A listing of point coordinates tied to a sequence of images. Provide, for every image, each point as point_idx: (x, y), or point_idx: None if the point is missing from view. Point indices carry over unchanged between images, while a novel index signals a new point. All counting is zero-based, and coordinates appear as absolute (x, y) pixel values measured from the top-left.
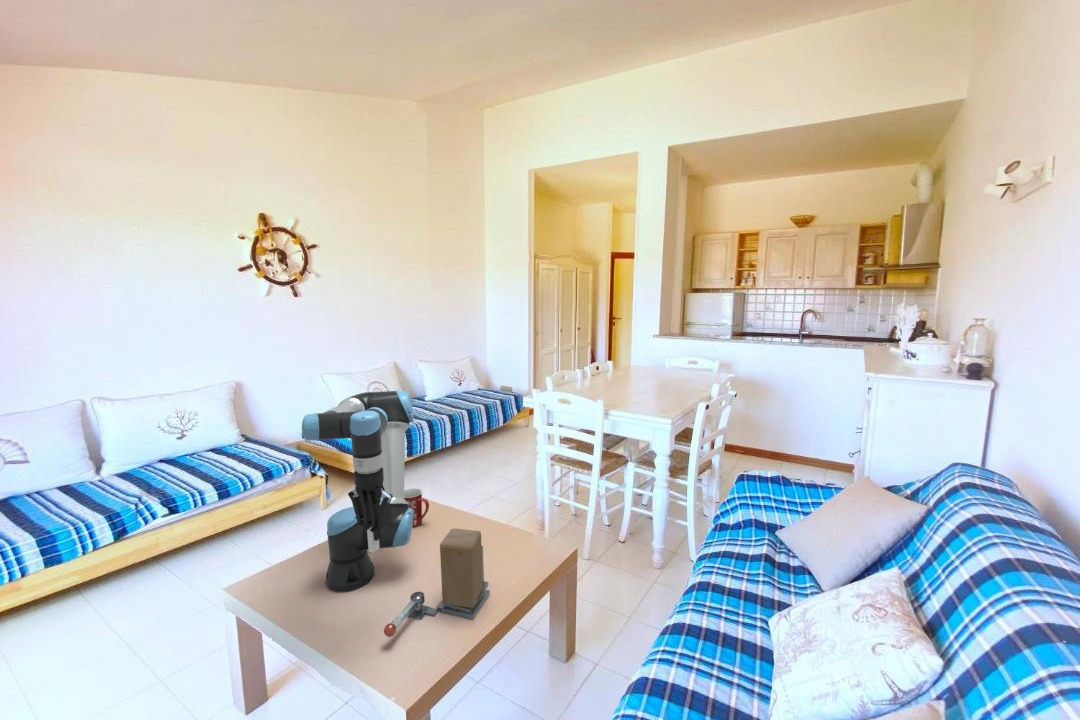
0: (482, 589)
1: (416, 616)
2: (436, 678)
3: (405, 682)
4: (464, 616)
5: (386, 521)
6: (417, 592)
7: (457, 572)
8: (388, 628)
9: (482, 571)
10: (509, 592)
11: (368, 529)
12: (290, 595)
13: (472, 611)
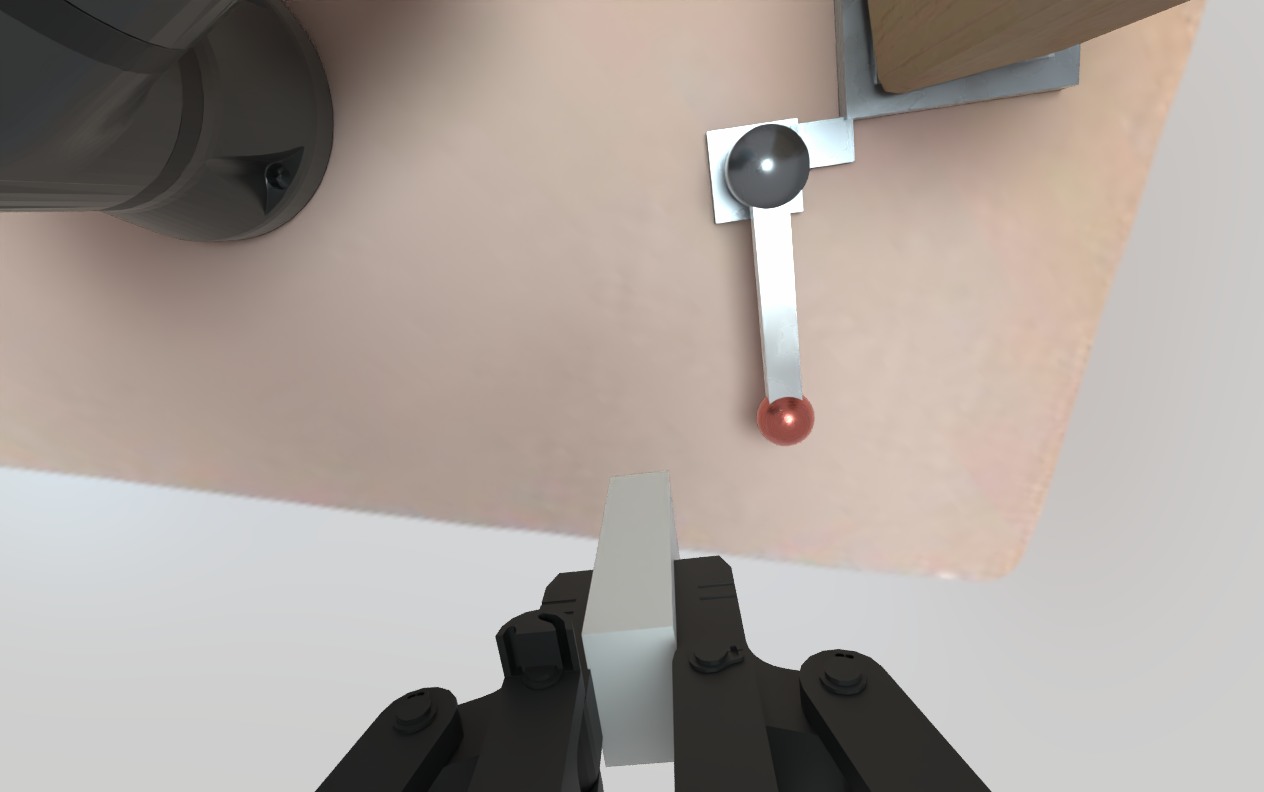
0: None
1: None
2: (1055, 453)
3: (948, 512)
4: (1015, 95)
5: (917, 717)
6: (749, 139)
7: (1140, 8)
8: (795, 439)
9: None
10: None
11: (614, 751)
12: (93, 352)
13: (1063, 55)
